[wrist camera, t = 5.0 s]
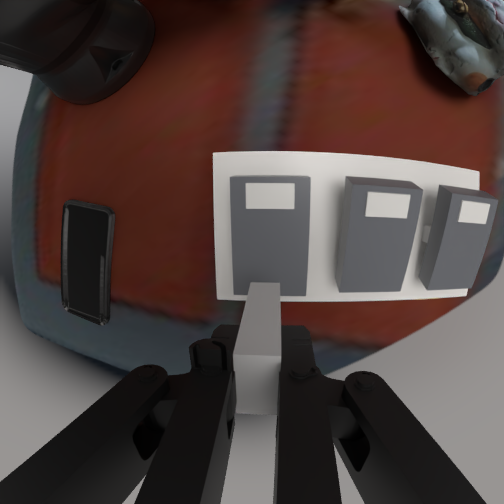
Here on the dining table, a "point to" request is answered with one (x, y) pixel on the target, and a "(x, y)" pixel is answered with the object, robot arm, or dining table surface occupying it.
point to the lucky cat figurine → (462, 39)
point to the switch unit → (332, 214)
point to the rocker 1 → (270, 231)
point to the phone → (86, 259)
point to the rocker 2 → (376, 234)
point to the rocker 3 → (457, 238)
